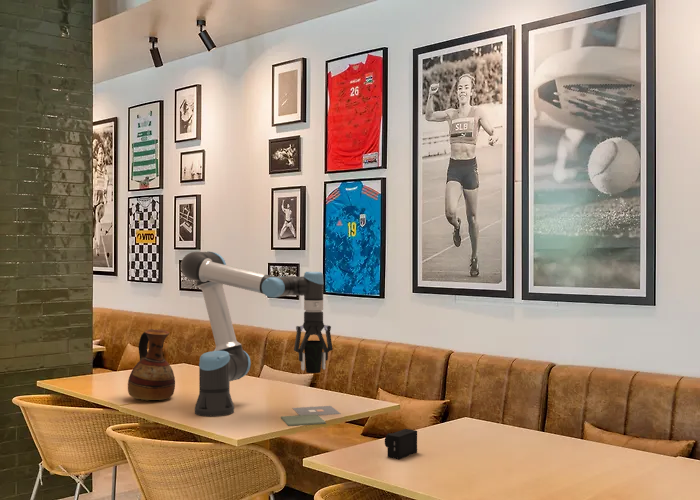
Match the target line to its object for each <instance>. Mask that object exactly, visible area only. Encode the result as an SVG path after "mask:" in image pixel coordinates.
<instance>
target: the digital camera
mask: <svg viewBox="0 0 700 500" xmlns="http://www.w3.org/2000/svg"><path fill="white" fill-rule="evenodd" d="M384 445H385V448H387V451H386V452H387V458H390V459H393V460H394V459H395V460H402V459H404V458H406V457H410V456H412V455H415V454H416V453H418V431H417V430H415V429H409V428H404V429H401V430H398V431H395V432H392V433H390V432H389V433H387V434H386V435H385V437H384Z"/></svg>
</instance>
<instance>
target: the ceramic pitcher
mask: <svg viewBox="0 0 700 500" xmlns="http://www.w3.org/2000/svg"><path fill="white" fill-rule="evenodd" d="M169 335H170V331H167V330H165V329H153V328H150V329H147V330H146V329H145V331H144V332H143V333H142V334H141V336H140V338H139V342H138V354H139V361H138V362H137V364H135V366H134V367H133V368H132V370H131V372H130V374H129V377H128V380H127V392H128V394H129V396H130V397H132V398H133V399H135V400H138V399H141V400H140V401H143V400H159V401H164V400H167V399H169V398H171V397H173V395H174V392H175V389H176V388H175V387H176V379H175V378H176V377H175V374H174V371H173V368H172V366H171V365H170V363H169V362H168V360H166V359H165V357H164V356H163V355H164V354H163V348H164V343H165V341H166V338H168V336H169Z"/></svg>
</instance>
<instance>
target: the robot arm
mask: <svg viewBox="0 0 700 500" xmlns="http://www.w3.org/2000/svg"><path fill="white" fill-rule="evenodd" d="M180 270H181V271H180V272H182V275H183V276H184V277H185V278H186V279H188V280H191V281H195V283H196V286H197V288H198V289H199V290H201V291H202V295H203V300H204V302H205V304H204V305H205V307H206V311H207V315H208V319H209V323H210V327H211V328H210V329H211V331H212V335H213V339H214V342H215V343H214V344H215V348H214V350H212V351H207V352H204V353H202V354H201V355H200V357H199V363H198V369H199V373H198V374H199V375H198V376H199V381H198V382H199V383H198V384H199V394H198V395H197V396H198V397H197V400H196V403H195V406H194V414H195V415H196V416H201V417H222V416H229V415H231V414H233V413H235V405H234V402H233V400H232V396H231V393H230V382H234V381H237V380H241V378H243V377H245V376H246V375H248V373H249V371H250V370H251V366H252V365H251V364H252V363H251V362H252V361H251V358H250V355H249V354H248V353H247V352H246V351H245V350H244V349H243V346H242V343H240V342H239V341H238V340H237V337H236V333H235V330H234V325H233V321H232V318H231V317H232V316H231V314H230V313H231V312H230V309H229V306H228V302H227V297H226V293H225V289H224V286H225V285H226V286H229V287H234V288H238V289H242V290H247V291H251V292H254V293H259V294H261V295H262V294H263V295H265V296H266V297H268V298H273V299H274V298H280V297H286V296H287V297H288V296H303V310H304V312H303V324H302V325H296V326H295V330H296V335H295V341H294V347H293V351H294V352H297V354H298V361H299V362H300V369H301V370H302V371H306V364H305V352H304V348H305V346H306V345H305V342H307V341H309V338H310V337H311V336H314V335H315V336H317V339H318V341H320V342H323V350H322V361H321V370H326V361H328V360H329V352H331V351H333V342H332V336H331V330H332V326H331V325H328V324H327V325H326V324H325V323H324V312H323V311H324V284H325V283H324V274H323V272H321V271H305V272H304V273H303V276H292V275H291V276H290V275H282V276H275V275H270V274H266V273H261V272H258V271H252V270H249V269H246V268H245V269H244V268H240V267H235V266H231V265H227V263H226V260H225V259H224V258H223V256H222V255H221V254H220V253H218V252H213V251H192V252H189V253H187V254H186V255H184V257H182V260H181V262H180ZM303 329H304V331H305V333H304V336H303V339H302V341H301V338H302V332H303ZM323 329H324V331H325V336H326V337H325V338H326V342H325V339H324V336H323V333H322V331H323ZM300 342H301V343H300Z"/></svg>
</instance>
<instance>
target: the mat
mask: <svg viewBox="0 0 700 500" xmlns="http://www.w3.org/2000/svg"><path fill="white" fill-rule="evenodd" d="M280 419H281V420H282V421H283V422H284V423H285V424H286V426H288V427H296V426H297V427H298V426H308V425H309V426H310V425H312V426H313V425H326V424H327V422H326V421H325V419H323V418H322V417H321V416H320V415H317V414H313V415H299V414H297V415H285V416H283V415H282V416H280Z"/></svg>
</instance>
